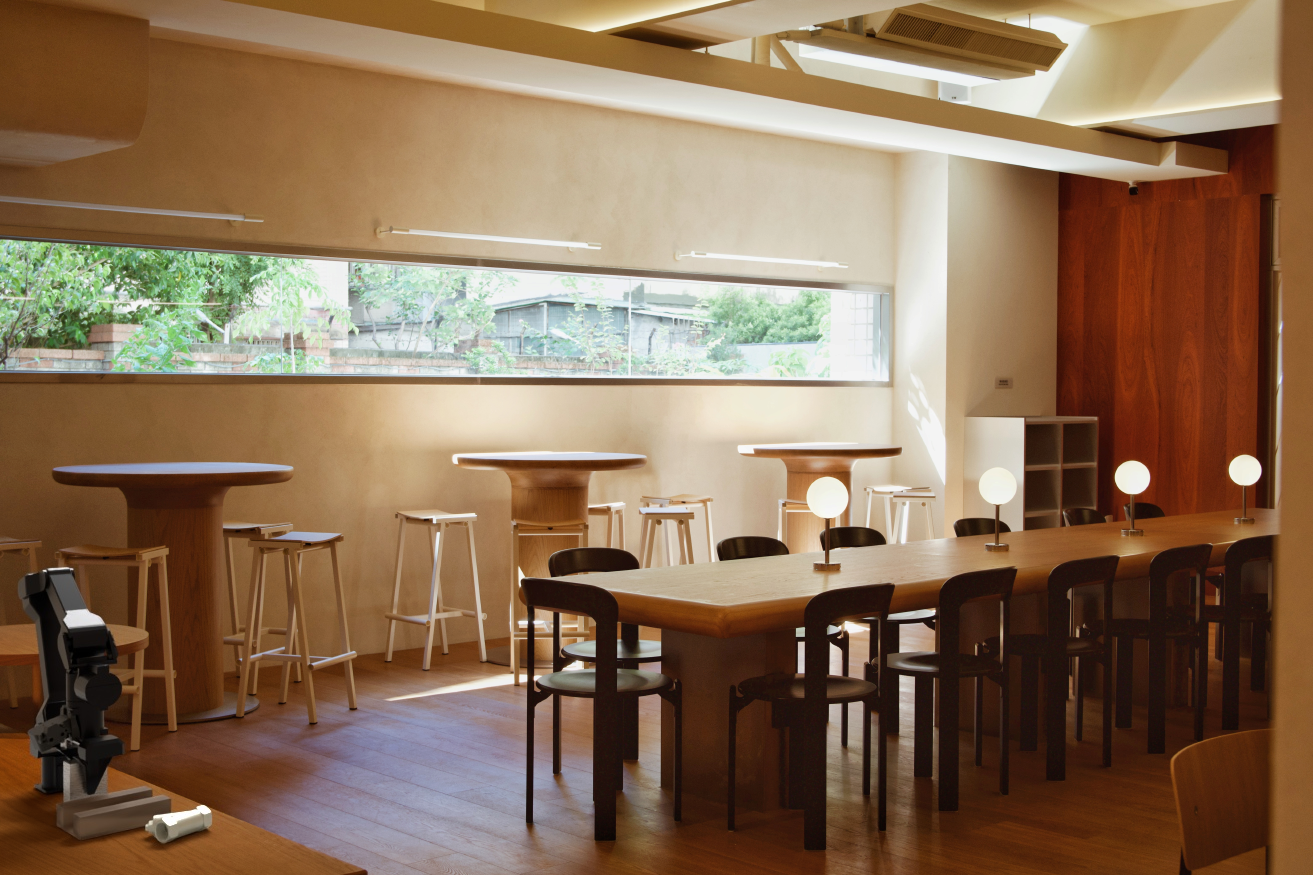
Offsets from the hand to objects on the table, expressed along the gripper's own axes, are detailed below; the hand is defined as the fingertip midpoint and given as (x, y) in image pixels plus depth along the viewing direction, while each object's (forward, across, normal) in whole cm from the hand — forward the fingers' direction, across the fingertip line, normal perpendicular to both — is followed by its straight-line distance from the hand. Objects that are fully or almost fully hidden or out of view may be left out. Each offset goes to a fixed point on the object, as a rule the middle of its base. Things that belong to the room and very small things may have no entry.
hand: (85, 791), depth 203 cm
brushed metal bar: (+3, 0, 0) cm, 3 cm away
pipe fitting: (+3, +25, +5) cm, 26 cm away
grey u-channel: (+2, +12, 0) cm, 13 cm away
